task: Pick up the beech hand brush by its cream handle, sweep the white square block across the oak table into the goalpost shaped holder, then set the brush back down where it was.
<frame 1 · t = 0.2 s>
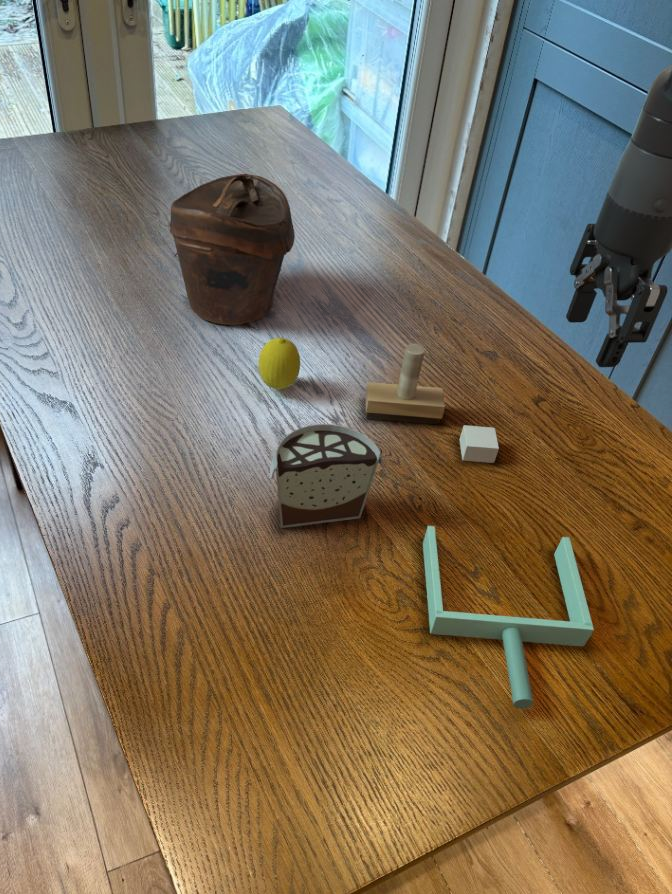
hand: (589, 342, 82), 18 cm above the table, tool pointing down, fingers open, 8 cm apart
brush: (401, 413, 100), on the table
white square block: (476, 451, 95), on the table
goalpost shaped holder: (498, 590, 80), on the table
lemon: (277, 389, 102), on the table
case: (231, 303, 117), on the table
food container: (314, 505, 88), on the table
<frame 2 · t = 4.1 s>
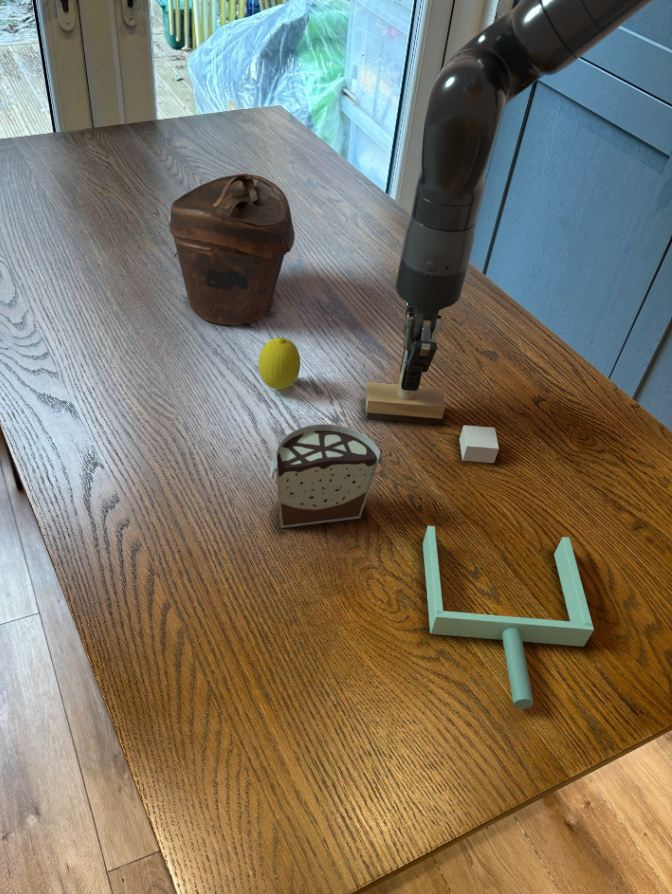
hand: (408, 381, 96), 5 cm above the table, tool pointing down, fingers closed on brush, 2 cm apart
brush: (401, 413, 100), on the table, touching gripper
everything else where it was.
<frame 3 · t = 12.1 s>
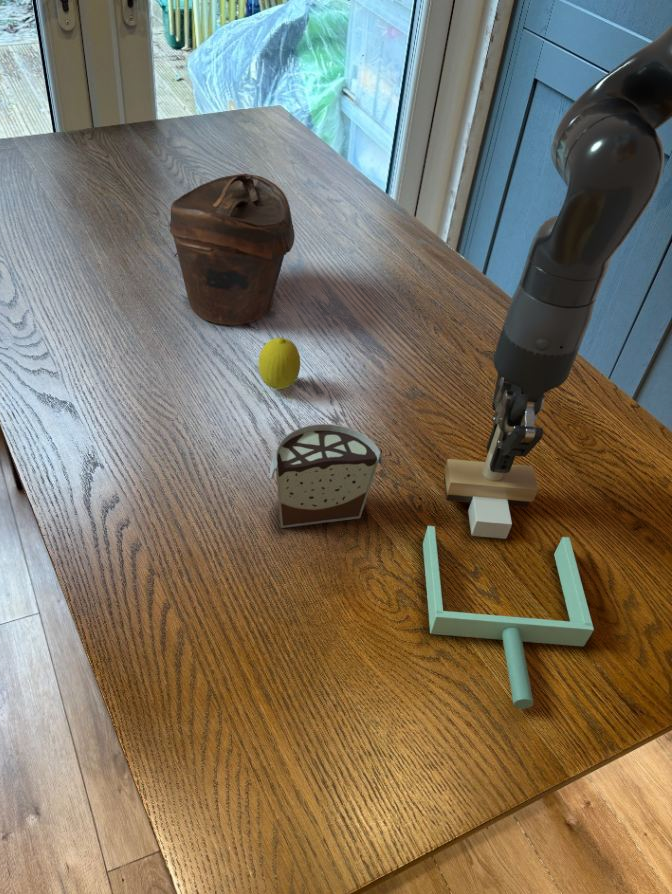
hand: (497, 460, 85), 6 cm above the table, tool pointing down, fingers closed on brush, 2 cm apart
brush: (485, 493, 89), point 1 cm above the table, touching gripper, white square block
white square block: (486, 524, 87), on the table, touching brush
everything else where it was.
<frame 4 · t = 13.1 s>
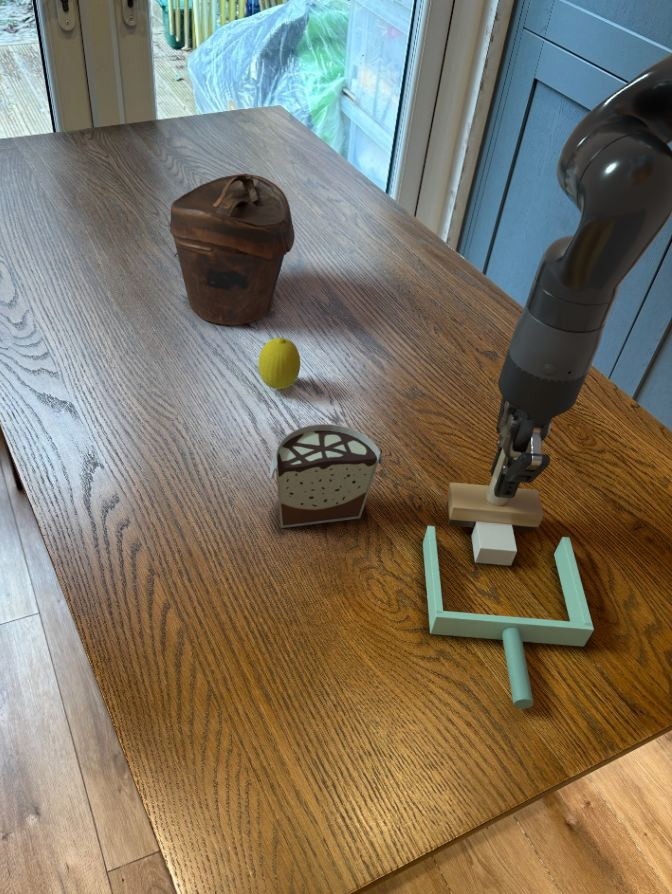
hand: (501, 485, 82), 6 cm above the table, tool pointing down, fingers closed on brush, 2 cm apart
brush: (489, 517, 86), point 1 cm above the table, touching gripper
white square block: (490, 550, 84), on the table
everything else where it was.
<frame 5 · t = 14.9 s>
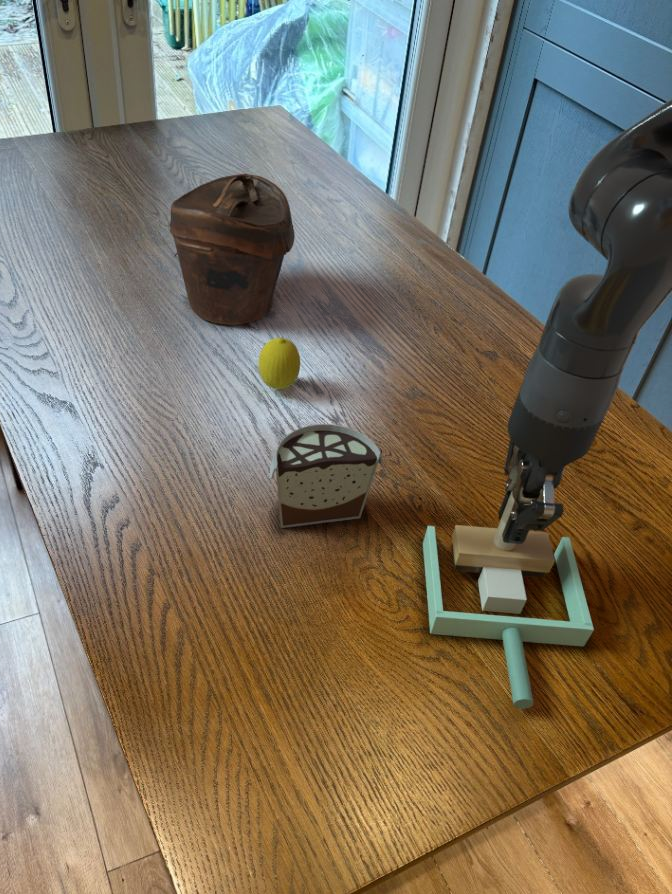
hand: (510, 529, 78), 6 cm above the table, tool pointing down, fingers closed on brush, 2 cm apart
brush: (496, 561, 81), point 1 cm above the table, touching gripper, white square block
white square block: (498, 597, 80), on the table, touching brush
everything else where it was.
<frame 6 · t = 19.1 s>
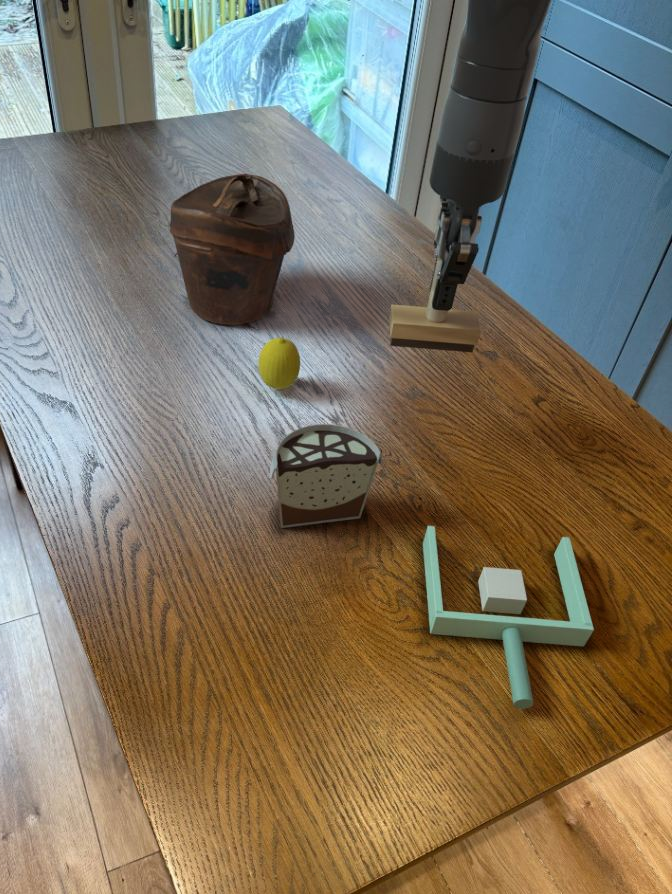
hand: (440, 300, 84), 19 cm above the table, tool pointing down, fingers closed on brush, 2 cm apart
brush: (430, 340, 88), point 13 cm above the table, touching gripper
white square block: (498, 597, 79), on the table
everything else where it was.
when the fingers open (5 cm above the table, at t = 22.4 s): brush stays where it is, on the table.
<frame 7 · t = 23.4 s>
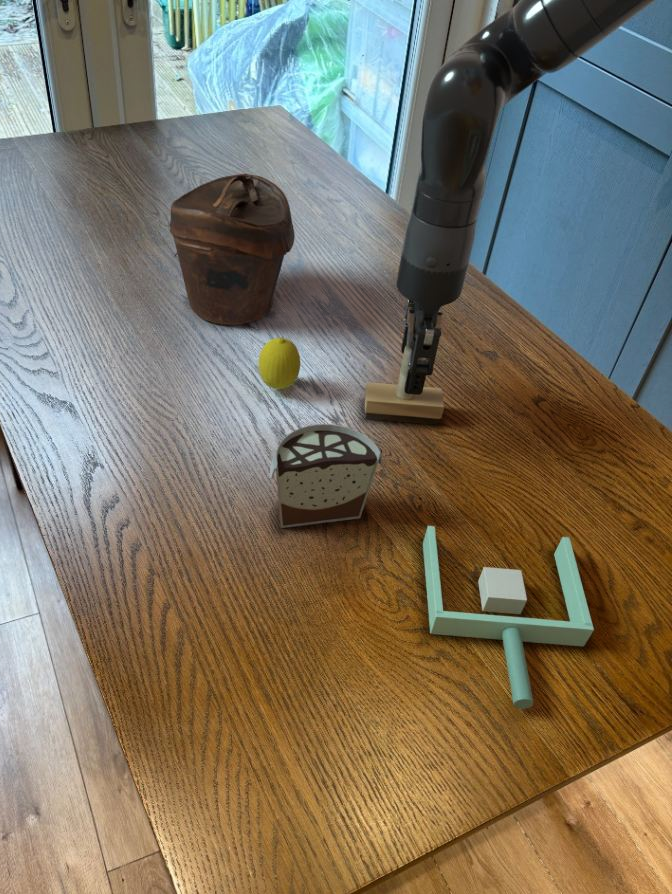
hand: (410, 372, 95), 7 cm above the table, tool pointing down, fingers open, 8 cm apart
brush: (400, 413, 100), on the table
everything else where it was.
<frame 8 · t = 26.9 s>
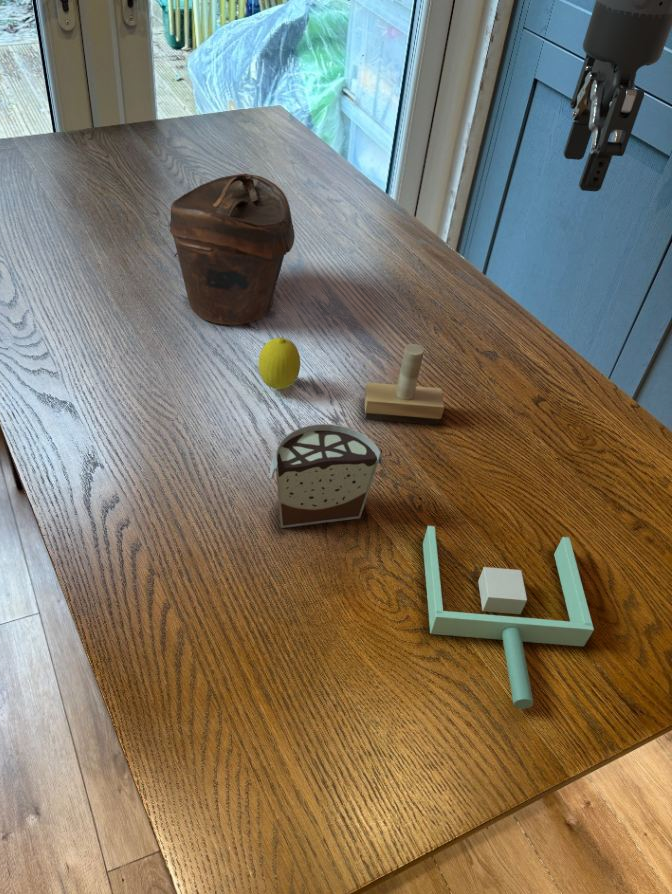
hand: (580, 173, 83), 30 cm above the table, tool pointing down, fingers open, 8 cm apart
nothing on the table moved.
at the end: white square block inside the target area on the goalpost shaped holder (0.9 cm from its centre), point 0.0 cm above the goalpost shaped holder's base; the gripper is holding nothing; brush on the table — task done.
